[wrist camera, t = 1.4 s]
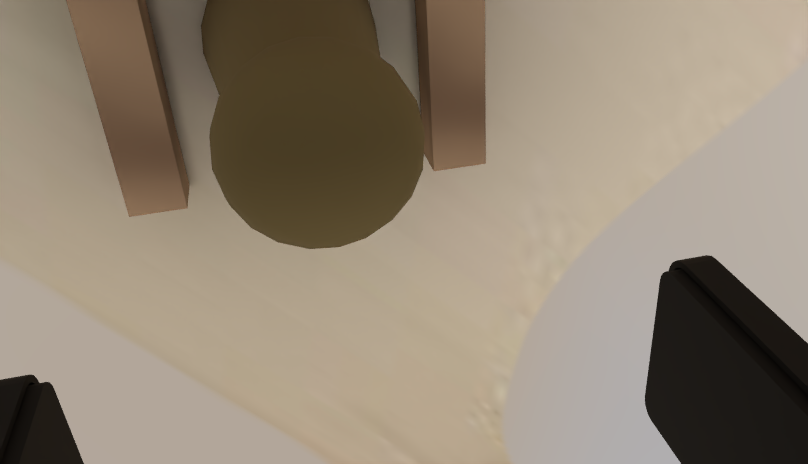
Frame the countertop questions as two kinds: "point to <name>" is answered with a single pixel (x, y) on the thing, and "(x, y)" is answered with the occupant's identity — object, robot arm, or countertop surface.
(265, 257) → the countertop surface
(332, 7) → the cork
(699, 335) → the robot arm
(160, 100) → the walnut track
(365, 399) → the countertop surface
